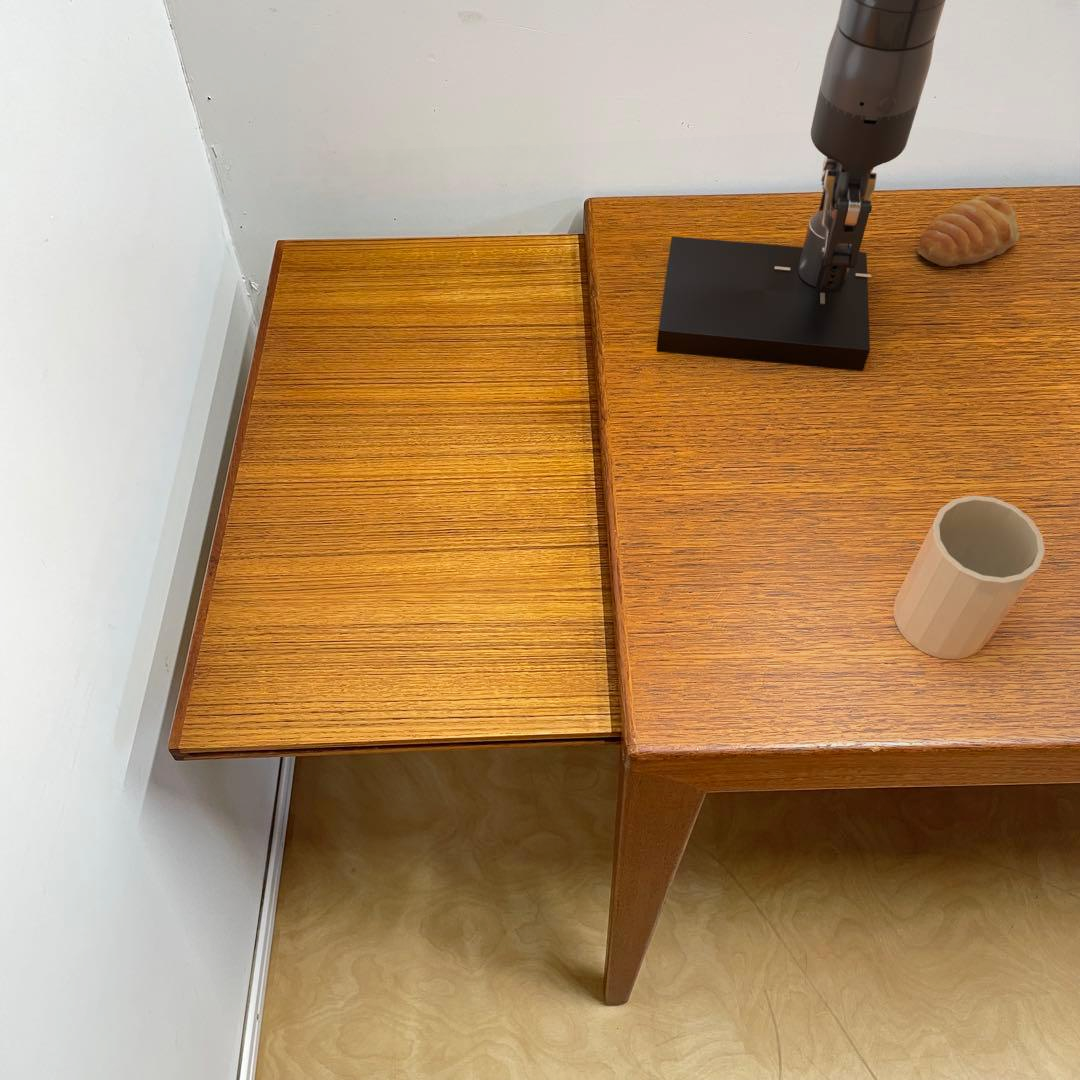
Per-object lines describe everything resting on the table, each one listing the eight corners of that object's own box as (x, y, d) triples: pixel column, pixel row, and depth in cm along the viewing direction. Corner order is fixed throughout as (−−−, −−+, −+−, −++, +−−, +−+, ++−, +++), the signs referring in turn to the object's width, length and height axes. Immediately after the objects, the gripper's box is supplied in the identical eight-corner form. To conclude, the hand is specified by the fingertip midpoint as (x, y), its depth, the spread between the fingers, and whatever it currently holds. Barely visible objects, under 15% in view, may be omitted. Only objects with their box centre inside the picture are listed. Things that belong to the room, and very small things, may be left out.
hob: (863, 268, 94) (870, 245, 92) (866, 371, 86) (874, 348, 84) (670, 252, 96) (672, 229, 94) (656, 351, 88) (658, 328, 86)
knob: (846, 291, 88) (860, 240, 84) (796, 285, 89) (808, 234, 84) (848, 259, 91) (862, 208, 86) (799, 254, 91) (811, 203, 87)
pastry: (948, 284, 92) (961, 250, 89) (897, 245, 96) (907, 212, 93) (1020, 248, 95) (1035, 214, 92) (967, 212, 98) (980, 178, 95)
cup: (985, 584, 73) (1037, 501, 65) (994, 665, 69) (1050, 588, 61) (891, 573, 74) (930, 490, 66) (894, 652, 70) (937, 574, 62)
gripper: (821, 34, 80) (786, 206, 93) (820, 135, 72) (782, 308, 85) (917, 40, 79) (868, 212, 92) (927, 142, 71) (872, 316, 84)
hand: (827, 258), depth 89 cm, fingers open, 8 cm apart
